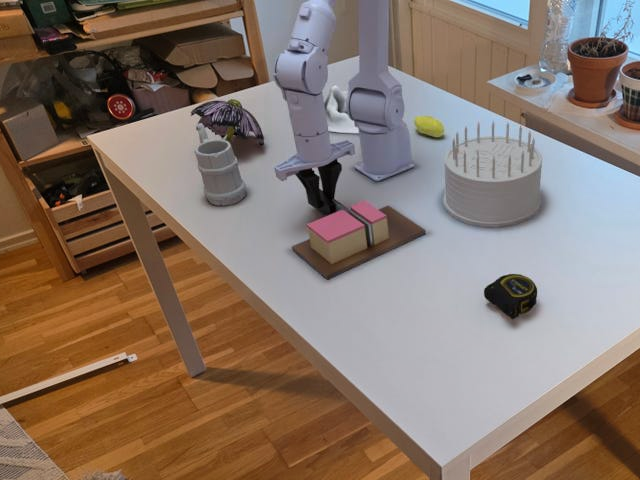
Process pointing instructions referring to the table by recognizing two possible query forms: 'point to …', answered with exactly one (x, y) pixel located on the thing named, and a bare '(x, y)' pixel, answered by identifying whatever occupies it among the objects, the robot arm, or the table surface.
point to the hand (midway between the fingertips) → (323, 203)
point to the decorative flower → (228, 120)
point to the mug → (219, 170)
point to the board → (398, 233)
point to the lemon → (429, 126)
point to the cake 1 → (337, 236)
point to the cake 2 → (492, 180)
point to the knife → (334, 206)
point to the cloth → (338, 112)
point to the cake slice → (373, 220)
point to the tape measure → (512, 294)
